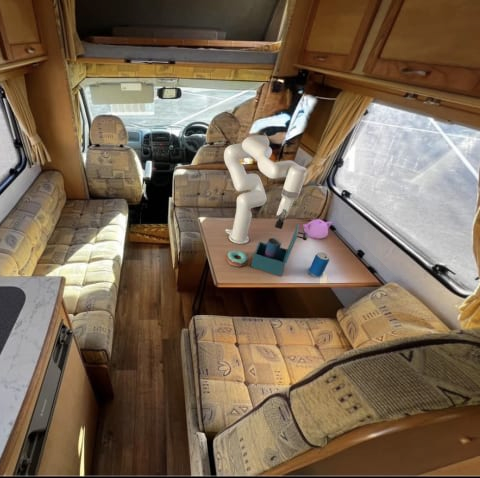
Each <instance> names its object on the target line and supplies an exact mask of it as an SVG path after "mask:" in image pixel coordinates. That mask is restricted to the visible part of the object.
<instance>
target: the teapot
mask: <svg viewBox="0 0 480 478" xmlns="http://www.w3.org/2000/svg"><path fill="white" fill-rule="evenodd" d="M332 223H333V222H332V221H324V220H323V219H319V218H318V219H312V220H311V221H309V222H307V223H304V224H302V228H303V230H304V233H305V232H306V233H307V234H308V235H307V237H309V238H312V239H317V240H322V239H324V238H327V236H328V234H329V228H330V227H331V225H332Z"/></svg>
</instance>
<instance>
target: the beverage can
mask: <svg viewBox="0 0 480 478" xmlns="http://www.w3.org/2000/svg"><path fill="white" fill-rule="evenodd" d="M329 262H330V256H329V255H328V254H327V253H324V252H318V253H317V254H315V255H314V258H313V260H312V262H311V264H310V267H309V269H308V272H309V273H310V275H312V276H314V277H321V276H323V274H324V272H325V270H326V269H327V267H328V264H329Z"/></svg>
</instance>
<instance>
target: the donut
mask: <svg viewBox="0 0 480 478" xmlns="http://www.w3.org/2000/svg"><path fill="white" fill-rule="evenodd" d="M226 262H228V263H229V264H230V265H231V266H234V267H238V268H240V267H244V266H246V265H247V264H248V262H249V258H248V255H247V254H246V253H244V252H243V251H240V250H230V251H229V252H228V253H226Z"/></svg>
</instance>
